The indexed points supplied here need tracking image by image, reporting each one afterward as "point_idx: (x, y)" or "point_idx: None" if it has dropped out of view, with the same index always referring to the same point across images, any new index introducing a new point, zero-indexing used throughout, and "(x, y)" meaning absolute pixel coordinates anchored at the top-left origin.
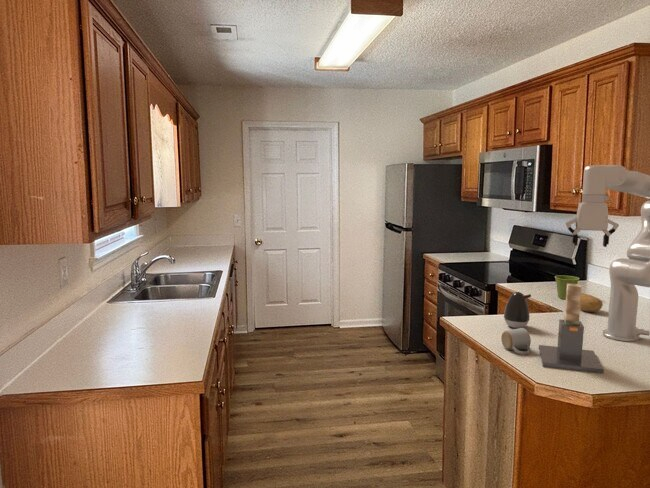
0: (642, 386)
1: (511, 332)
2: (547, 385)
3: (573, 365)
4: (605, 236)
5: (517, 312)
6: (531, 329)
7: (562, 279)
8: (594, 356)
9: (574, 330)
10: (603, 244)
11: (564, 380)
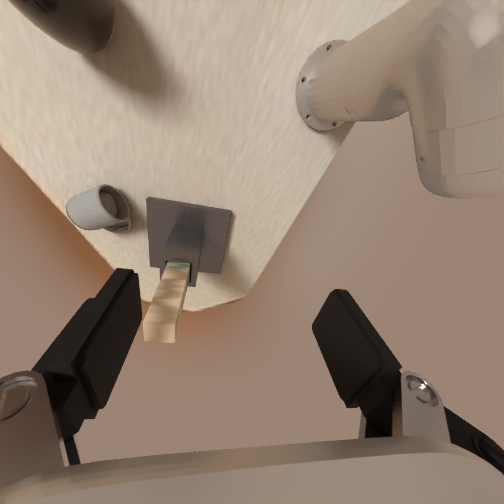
0: (248, 290)
1: (82, 225)
2: None
3: None
4: (345, 400)
5: (59, 38)
6: (133, 44)
7: None
8: (224, 236)
9: None
10: (328, 311)
11: None
